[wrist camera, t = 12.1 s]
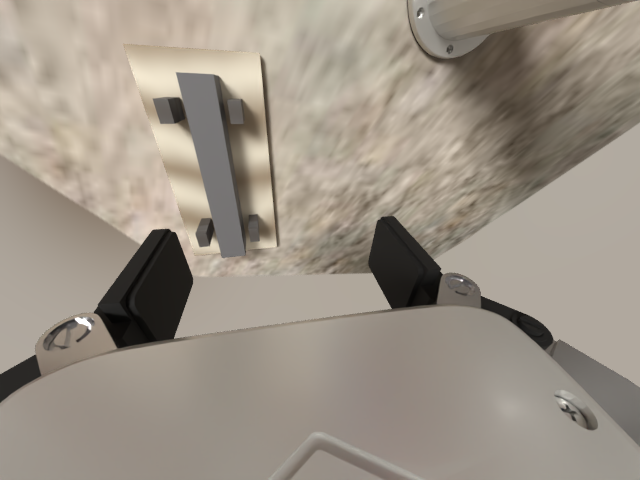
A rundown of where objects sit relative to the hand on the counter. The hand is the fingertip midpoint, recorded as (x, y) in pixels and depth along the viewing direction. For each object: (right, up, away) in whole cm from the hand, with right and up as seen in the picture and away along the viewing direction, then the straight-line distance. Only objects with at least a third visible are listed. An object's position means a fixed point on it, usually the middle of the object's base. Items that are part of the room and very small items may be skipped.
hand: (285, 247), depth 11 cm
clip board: (-11, +9, +18) cm, 23 cm away
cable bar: (-10, +9, +17) cm, 22 cm away
